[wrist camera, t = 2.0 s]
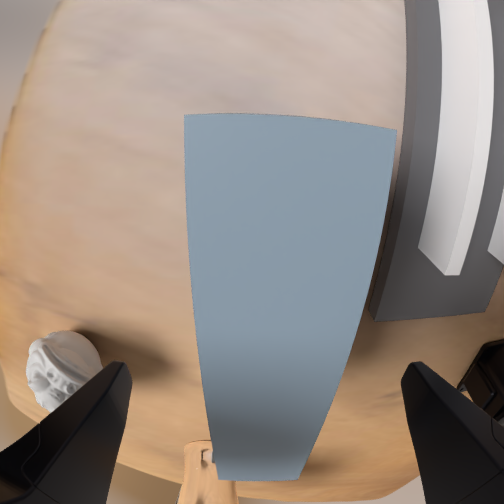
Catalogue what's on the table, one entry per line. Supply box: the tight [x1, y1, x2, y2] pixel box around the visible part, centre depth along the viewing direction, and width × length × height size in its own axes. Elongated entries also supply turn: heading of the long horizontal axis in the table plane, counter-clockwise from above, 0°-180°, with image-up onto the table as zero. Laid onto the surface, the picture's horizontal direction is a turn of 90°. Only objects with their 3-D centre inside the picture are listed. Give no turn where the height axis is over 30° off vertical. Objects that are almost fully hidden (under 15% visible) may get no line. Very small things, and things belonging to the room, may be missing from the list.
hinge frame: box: [368, 0, 504, 322], centre depth 10 cm, size 10×26×4 cm, turn 178°
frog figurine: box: [26, 331, 103, 413], centre depth 16 cm, size 6×7×7 cm
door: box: [184, 113, 397, 481], centre depth 12 cm, size 4×14×10 cm, turn 178°
